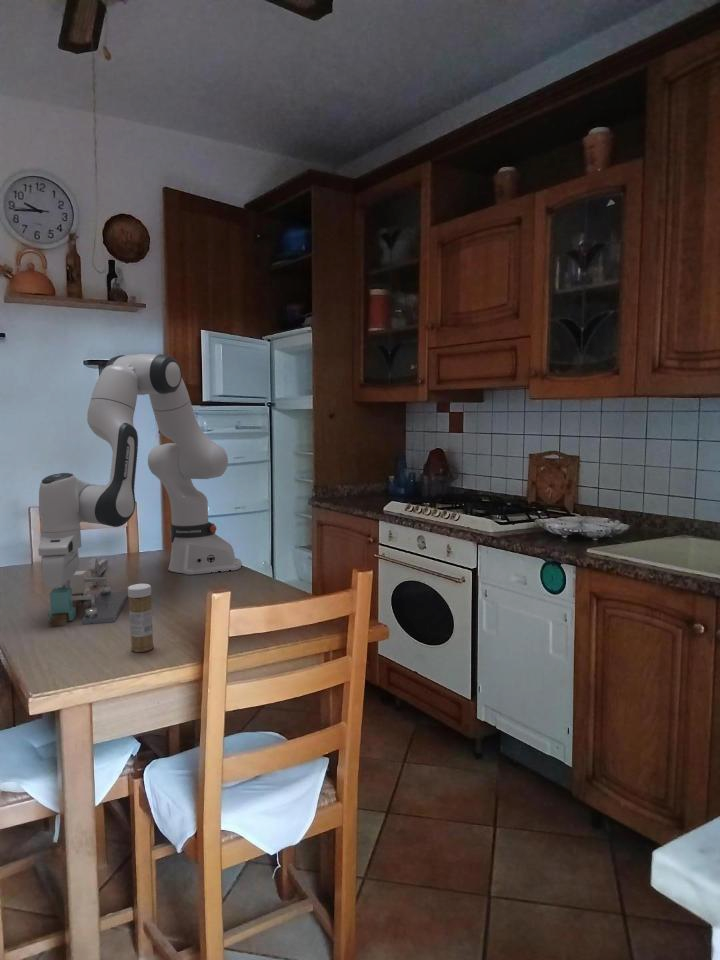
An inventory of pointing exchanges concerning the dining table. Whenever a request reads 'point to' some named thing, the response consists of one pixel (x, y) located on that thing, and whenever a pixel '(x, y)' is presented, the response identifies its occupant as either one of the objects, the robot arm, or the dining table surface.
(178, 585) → the dining table surface
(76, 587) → the fixed leg
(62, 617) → the rail
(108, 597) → the bolt plate
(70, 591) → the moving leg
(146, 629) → the sprinkles bottle
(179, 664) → the dining table surface
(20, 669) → the dining table surface
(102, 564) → the wrench
